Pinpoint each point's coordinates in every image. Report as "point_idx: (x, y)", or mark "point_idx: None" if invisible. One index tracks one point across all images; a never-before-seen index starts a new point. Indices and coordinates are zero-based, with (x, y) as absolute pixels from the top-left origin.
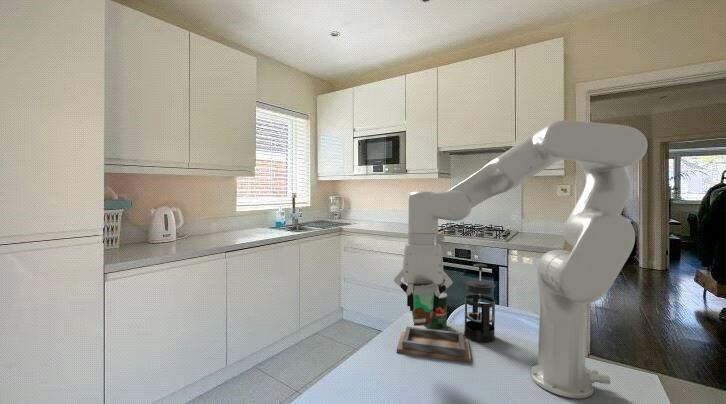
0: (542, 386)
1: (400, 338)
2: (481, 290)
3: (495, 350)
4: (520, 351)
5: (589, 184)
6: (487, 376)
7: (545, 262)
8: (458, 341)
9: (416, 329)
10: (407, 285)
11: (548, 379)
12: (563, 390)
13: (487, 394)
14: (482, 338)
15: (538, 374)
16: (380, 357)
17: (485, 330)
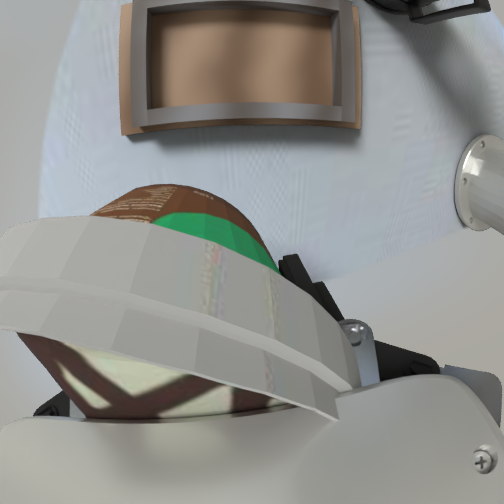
0: (458, 211)
1: (121, 57)
2: None
3: (418, 54)
4: (462, 61)
5: None
6: (381, 189)
7: None
8: (329, 23)
9: (173, 4)
10: (74, 407)
11: (474, 210)
12: (476, 226)
13: (363, 259)
14: (398, 8)
15: (468, 181)
16: (90, 184)
17: (425, 20)
